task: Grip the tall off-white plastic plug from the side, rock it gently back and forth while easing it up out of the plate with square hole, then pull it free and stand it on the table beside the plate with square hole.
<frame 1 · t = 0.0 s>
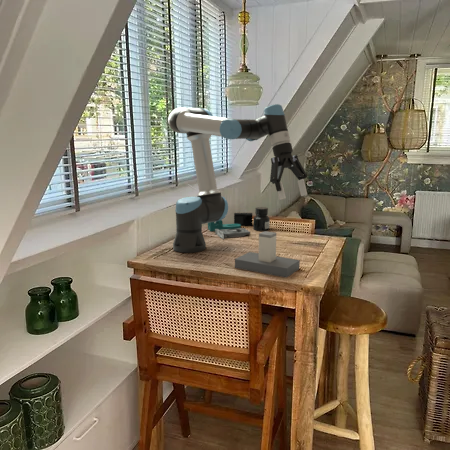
hand: (293, 197, 168), 28 cm above the table, tool tilted 20°, fingers open, 13 cm apart
plate with square hole: (266, 270, 168), on the table
digital camera: (243, 225, 248), on the table
plug: (267, 268, 168), point 1 cm above the table, touching plate with square hole
graphics card: (233, 237, 224), on the table
ink bottle: (261, 229, 238), on the table
bracket: (225, 229, 238), on the table
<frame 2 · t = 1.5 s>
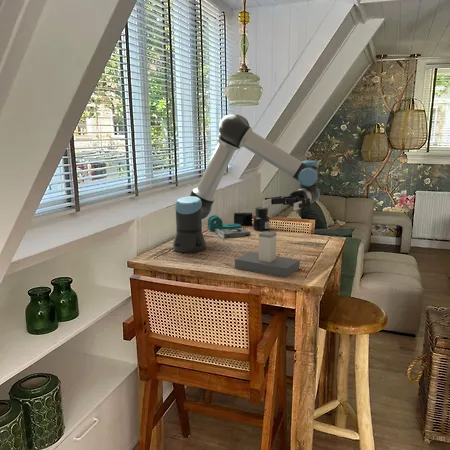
hand: (278, 205, 171), 24 cm above the table, tool horizontal, fingers open, 13 cm apart
nothing on the table moved.
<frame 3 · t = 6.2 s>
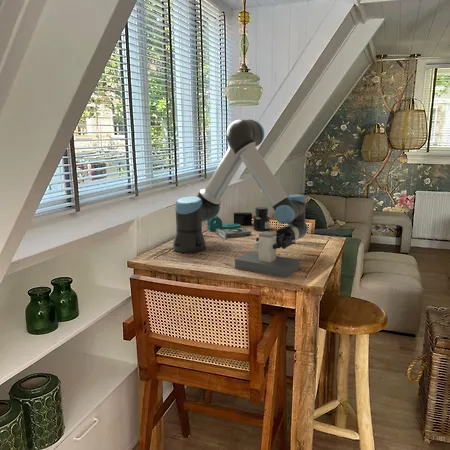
hand: (261, 247, 162), 10 cm above the table, tool horizontal, fingers closed on plug, 5 cm apart
plug: (267, 268, 168), point 1 cm above the table, touching gripper, plate with square hole
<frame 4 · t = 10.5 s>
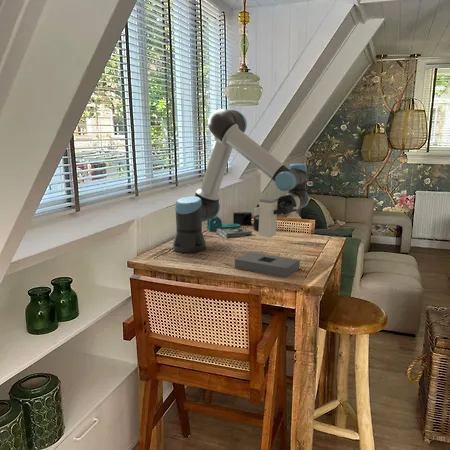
hand: (261, 212, 159), 24 cm above the table, tool horizontal, fingers closed on plug, 5 cm apart
plug: (267, 235, 165), point 14 cm above the table, touching gripper
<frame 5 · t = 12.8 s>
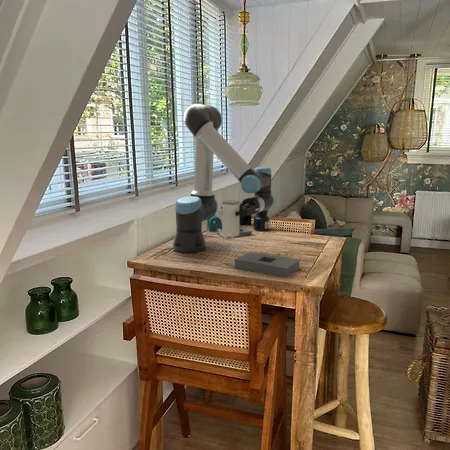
hand: (223, 214, 168), 22 cm above the table, tool horizontal, fingers closed on plug, 5 cm apart
plug: (230, 235, 175), point 12 cm above the table, touching gripper
when the fingers open (12 cm above the table, at t = 14.7 s): plug drops 2 cm, on the table.
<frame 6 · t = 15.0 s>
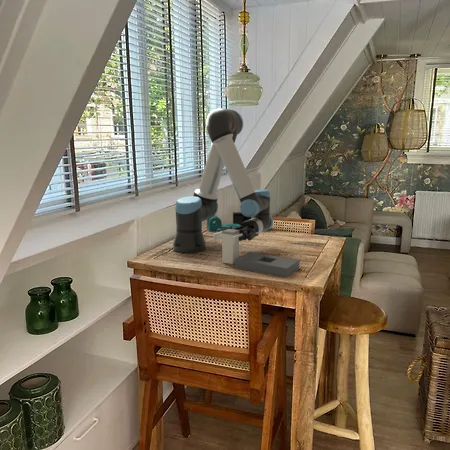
hand: (223, 238, 171), 11 cm above the table, tool horizontal, fingers open, 8 cm apart
plug: (230, 263, 177), on the table
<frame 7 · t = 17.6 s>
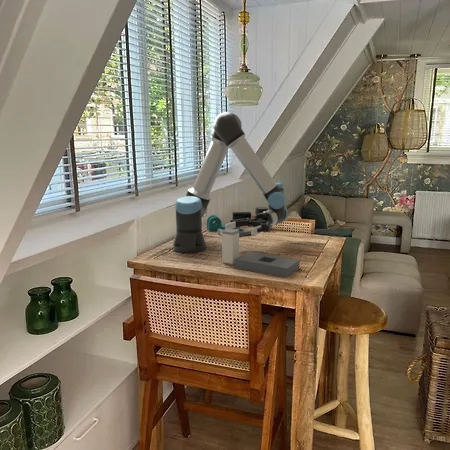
hand: (238, 229, 183), 12 cm above the table, tool horizontal, fingers open, 13 cm apart
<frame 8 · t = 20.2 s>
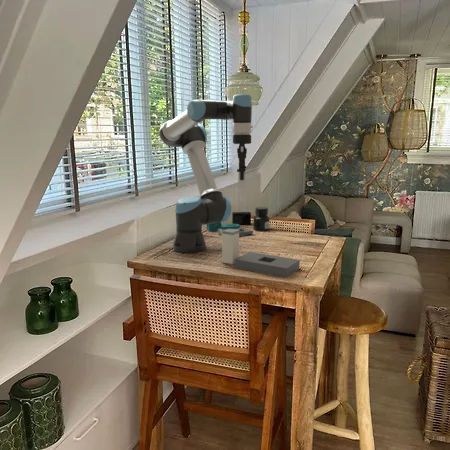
hand: (241, 185, 181), 31 cm above the table, tool pointing down, fingers open, 13 cm apart
at the end: plug inside the target area (0.4 cm from its centre), on the table; plug tilted 0°; the gripper is holding nothing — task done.
